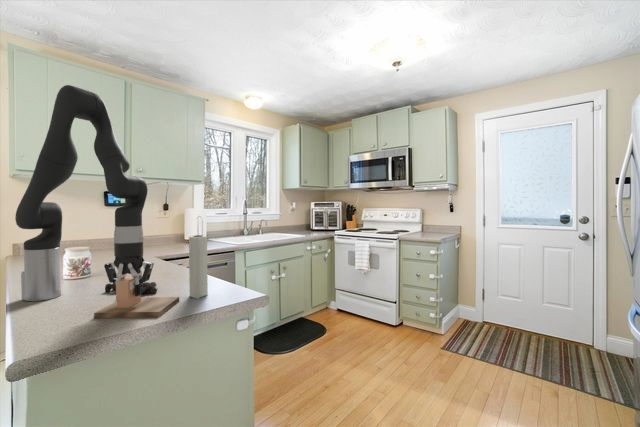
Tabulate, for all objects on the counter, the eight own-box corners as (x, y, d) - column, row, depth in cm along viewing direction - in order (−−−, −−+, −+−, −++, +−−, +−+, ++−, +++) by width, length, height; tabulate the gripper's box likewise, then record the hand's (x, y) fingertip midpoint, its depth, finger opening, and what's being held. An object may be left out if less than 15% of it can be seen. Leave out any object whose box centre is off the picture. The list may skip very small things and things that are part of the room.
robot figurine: (88, 300, 104) (136, 302, 100) (87, 288, 104) (136, 289, 100) (130, 287, 121) (173, 288, 117) (129, 276, 121) (172, 277, 117)
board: (94, 318, 85) (93, 313, 85) (123, 302, 99) (123, 297, 99) (159, 316, 86) (159, 311, 86) (179, 301, 100) (179, 296, 100)
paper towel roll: (196, 292, 110) (195, 234, 110) (211, 293, 109) (210, 235, 108) (183, 298, 103) (182, 236, 103) (199, 299, 102) (198, 237, 101)
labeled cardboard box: (116, 308, 89) (115, 281, 88) (129, 301, 95) (128, 276, 95) (129, 307, 89) (128, 281, 89) (141, 300, 95) (140, 276, 95)
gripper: (96, 242, 87) (97, 300, 88) (146, 242, 88) (147, 299, 89) (112, 239, 95) (113, 292, 95) (158, 239, 96) (159, 292, 96)
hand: (129, 295), depth 92 cm, fingers open, 4 cm apart
